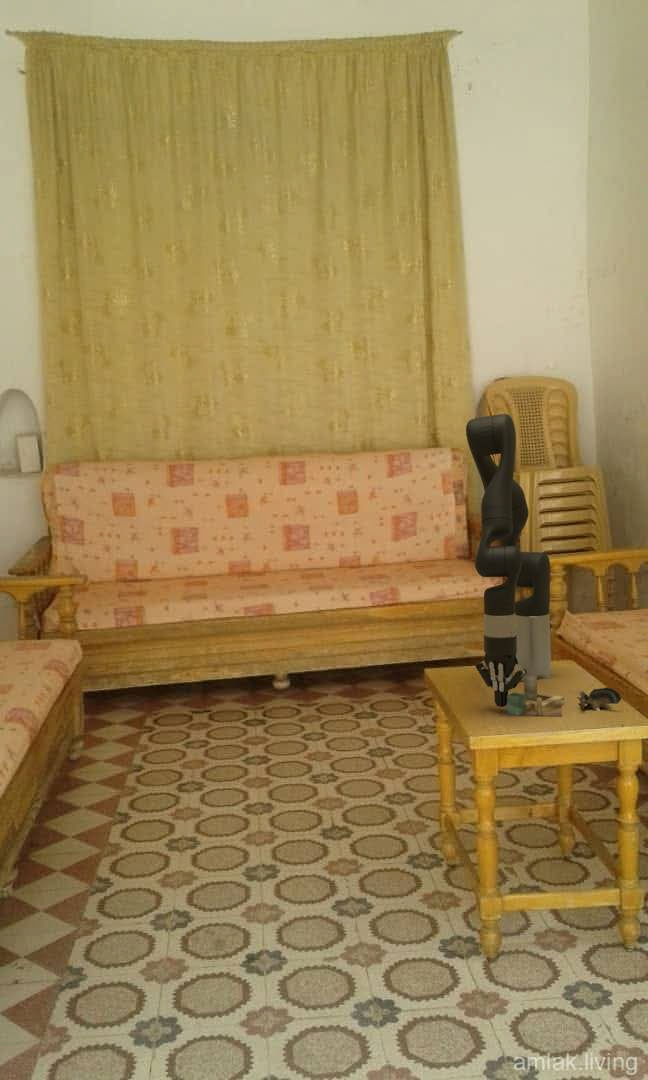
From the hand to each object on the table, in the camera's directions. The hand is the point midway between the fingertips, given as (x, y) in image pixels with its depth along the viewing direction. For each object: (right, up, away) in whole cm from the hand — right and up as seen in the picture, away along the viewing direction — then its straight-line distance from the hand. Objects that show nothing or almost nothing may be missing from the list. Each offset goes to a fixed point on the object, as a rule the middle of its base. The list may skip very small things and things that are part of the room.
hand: (501, 705), depth 243 cm
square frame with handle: (+7, -1, +1) cm, 7 cm away
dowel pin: (+8, -1, -5) cm, 9 cm away
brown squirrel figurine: (+22, -2, -2) cm, 22 cm away
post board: (+7, -2, +3) cm, 8 cm away
